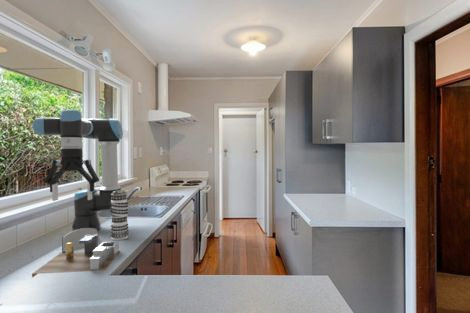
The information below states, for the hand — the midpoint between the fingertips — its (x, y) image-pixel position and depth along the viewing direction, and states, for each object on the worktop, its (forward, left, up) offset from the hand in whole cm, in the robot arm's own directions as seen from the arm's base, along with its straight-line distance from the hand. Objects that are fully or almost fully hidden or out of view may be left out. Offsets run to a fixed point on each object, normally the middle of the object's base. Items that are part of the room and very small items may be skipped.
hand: (72, 199), depth 114 cm
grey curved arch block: (-19, -5, -27) cm, 34 cm away
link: (+1, +12, -25) cm, 28 cm away
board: (+1, +3, -27) cm, 27 cm away
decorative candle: (-32, +9, -27) cm, 43 cm away
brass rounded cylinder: (-3, -3, -27) cm, 27 cm away
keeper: (-5, +4, -27) cm, 27 cm away
